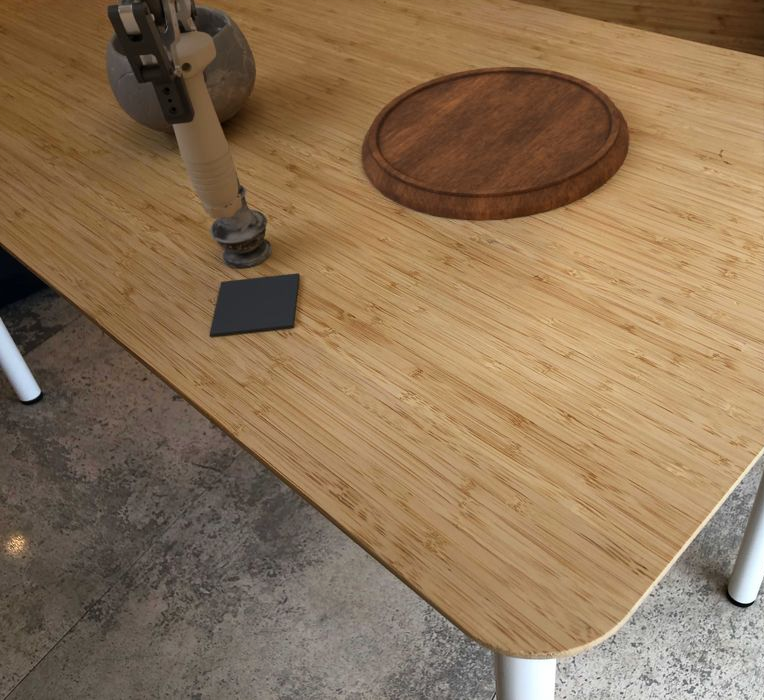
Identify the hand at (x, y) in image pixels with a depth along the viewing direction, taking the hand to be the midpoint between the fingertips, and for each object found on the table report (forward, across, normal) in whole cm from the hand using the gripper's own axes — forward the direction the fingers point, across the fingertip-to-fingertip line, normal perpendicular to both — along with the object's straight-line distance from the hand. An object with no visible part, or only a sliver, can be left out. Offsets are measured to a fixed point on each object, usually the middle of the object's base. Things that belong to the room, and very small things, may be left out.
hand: (188, 101), depth 69 cm
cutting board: (+22, -26, +26) cm, 43 cm away
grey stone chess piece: (+22, -9, -2) cm, 24 cm away
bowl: (+22, -40, -12) cm, 47 cm away
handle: (+11, 0, 0) cm, 11 cm away
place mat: (+22, 0, 0) cm, 22 cm away
